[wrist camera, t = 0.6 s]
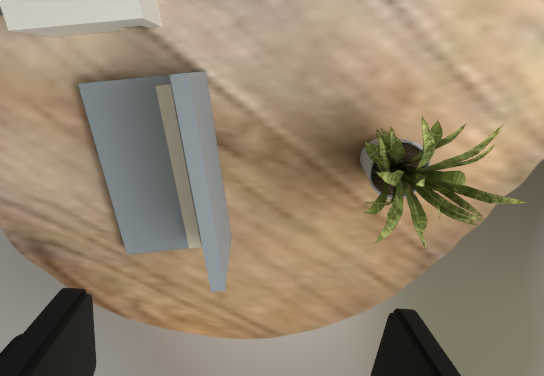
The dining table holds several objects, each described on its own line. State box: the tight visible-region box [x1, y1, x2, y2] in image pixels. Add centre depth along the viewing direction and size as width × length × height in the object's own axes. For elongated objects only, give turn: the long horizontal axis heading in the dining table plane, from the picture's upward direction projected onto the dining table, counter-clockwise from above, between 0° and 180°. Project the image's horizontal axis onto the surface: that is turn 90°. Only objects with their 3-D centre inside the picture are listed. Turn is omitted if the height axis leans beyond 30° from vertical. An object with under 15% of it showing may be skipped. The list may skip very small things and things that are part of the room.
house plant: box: [360, 115, 525, 248], centre depth 35 cm, size 14×14×16 cm
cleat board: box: [78, 71, 231, 292], centre depth 36 cm, size 22×14×12 cm, turn 5°
